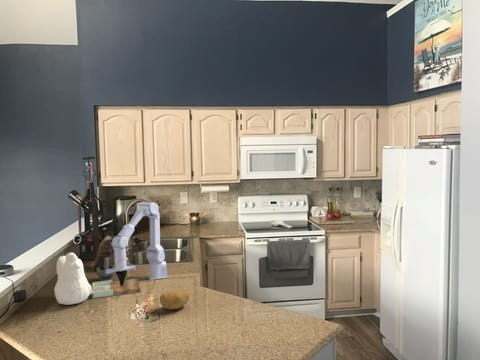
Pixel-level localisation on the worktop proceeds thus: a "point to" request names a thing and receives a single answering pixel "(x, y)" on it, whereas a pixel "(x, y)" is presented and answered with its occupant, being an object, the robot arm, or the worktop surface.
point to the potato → (174, 299)
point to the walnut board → (127, 287)
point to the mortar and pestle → (102, 271)
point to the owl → (104, 253)
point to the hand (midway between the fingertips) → (121, 285)
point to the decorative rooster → (71, 281)
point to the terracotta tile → (114, 285)
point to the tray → (101, 294)
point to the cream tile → (99, 288)
